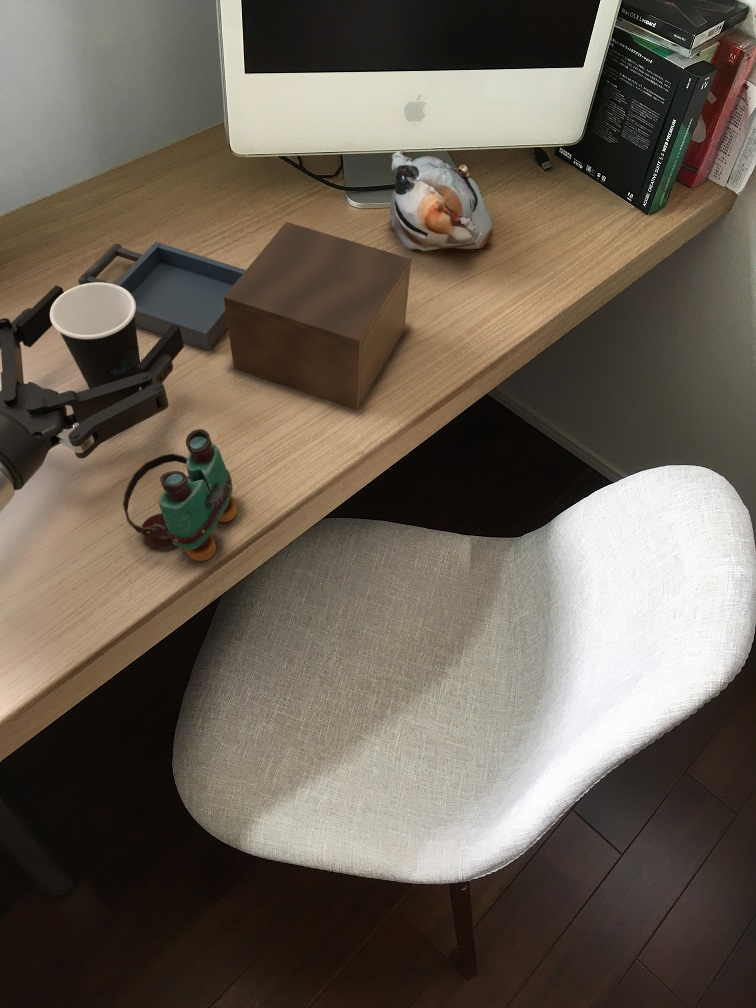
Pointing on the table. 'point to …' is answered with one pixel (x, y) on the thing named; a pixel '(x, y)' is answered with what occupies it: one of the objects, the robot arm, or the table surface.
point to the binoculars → (189, 499)
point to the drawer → (174, 290)
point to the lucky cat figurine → (437, 205)
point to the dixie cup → (99, 331)
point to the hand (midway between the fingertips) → (119, 315)
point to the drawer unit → (318, 313)
